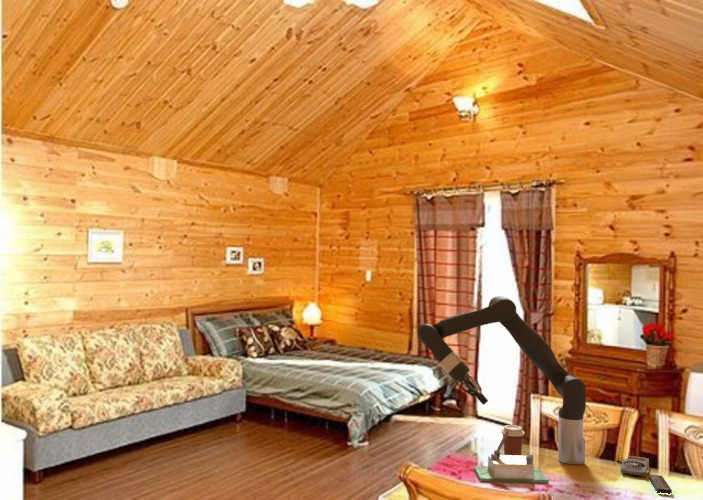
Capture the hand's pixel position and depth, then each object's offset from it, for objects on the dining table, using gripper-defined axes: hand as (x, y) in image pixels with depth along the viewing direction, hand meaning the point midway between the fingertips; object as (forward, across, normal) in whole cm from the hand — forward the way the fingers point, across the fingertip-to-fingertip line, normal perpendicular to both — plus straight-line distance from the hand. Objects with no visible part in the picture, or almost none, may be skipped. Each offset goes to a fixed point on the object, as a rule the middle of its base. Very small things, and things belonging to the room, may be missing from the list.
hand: (485, 402), depth 223 cm
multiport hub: (+59, +16, -23) cm, 65 cm away
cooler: (+25, 0, +11) cm, 27 cm away
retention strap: (+15, 0, +6) cm, 16 cm away
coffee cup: (+22, +22, +14) cm, 34 cm away
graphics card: (+52, +30, -16) cm, 63 cm away
